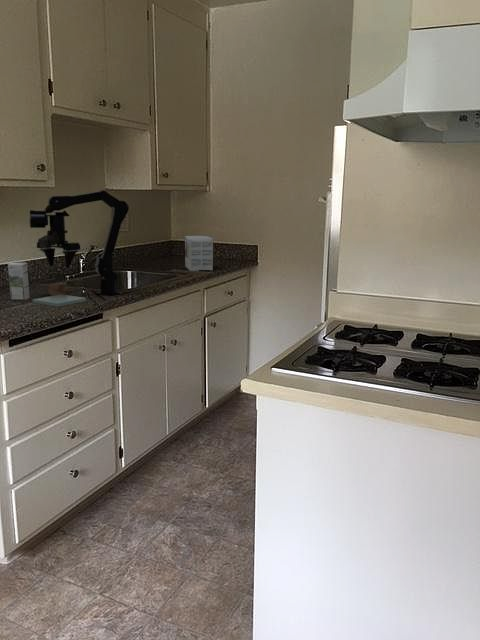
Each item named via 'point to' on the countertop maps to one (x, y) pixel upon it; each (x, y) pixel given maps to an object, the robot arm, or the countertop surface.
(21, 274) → the syrup box
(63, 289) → the walnut cube
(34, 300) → the plate
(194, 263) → the supplement box
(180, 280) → the countertop surface
